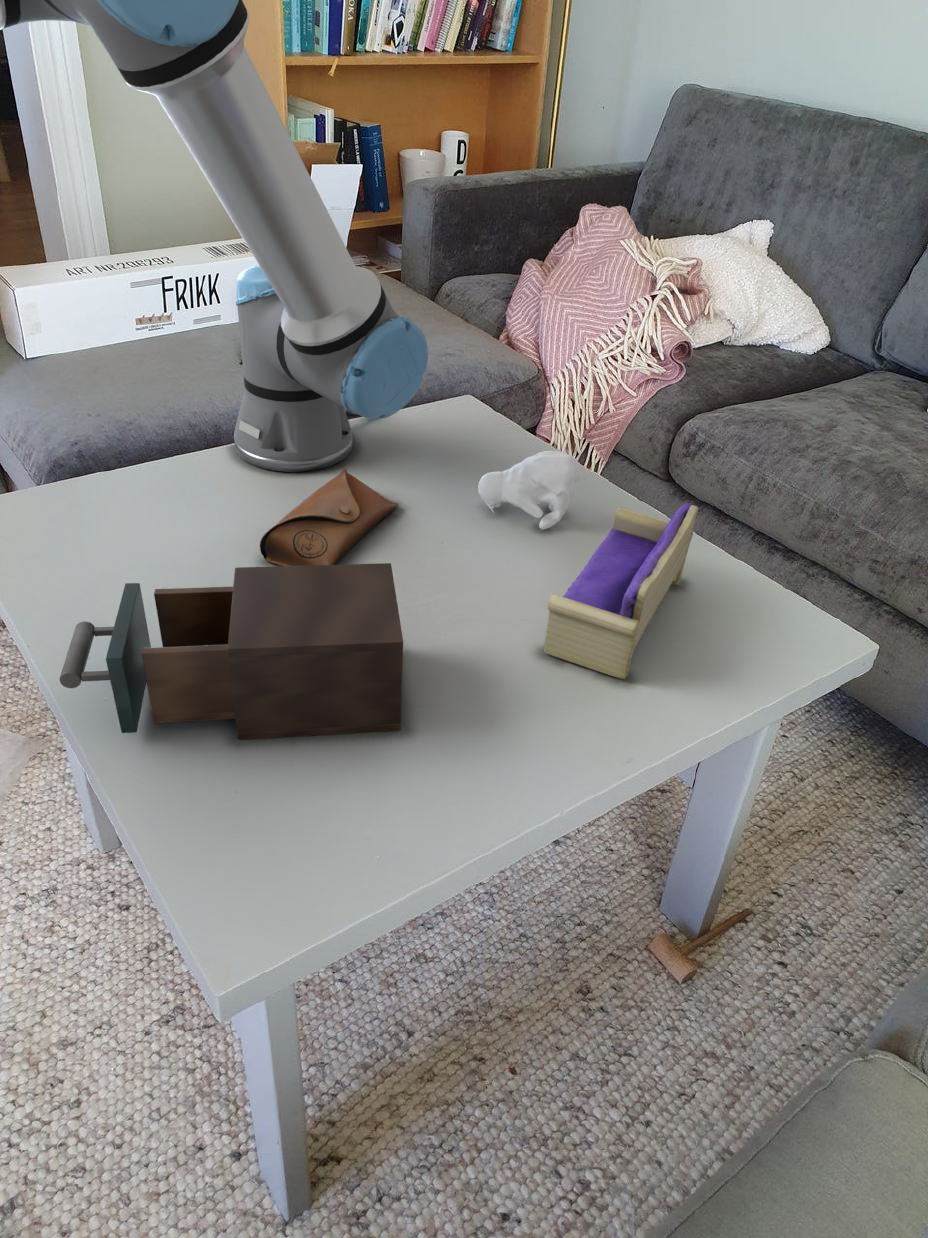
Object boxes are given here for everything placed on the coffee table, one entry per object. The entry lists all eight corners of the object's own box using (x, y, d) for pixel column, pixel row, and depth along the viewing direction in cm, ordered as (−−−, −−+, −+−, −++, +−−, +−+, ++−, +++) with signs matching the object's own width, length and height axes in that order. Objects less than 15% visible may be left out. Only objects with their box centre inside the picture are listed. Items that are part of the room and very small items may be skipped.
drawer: (65, 736, 74) (46, 661, 69) (88, 656, 82) (72, 584, 78) (277, 725, 76) (271, 651, 72) (279, 648, 85) (274, 578, 80)
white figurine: (573, 468, 101) (469, 456, 104) (570, 535, 106) (471, 522, 109) (585, 445, 106) (486, 435, 109) (581, 511, 111) (487, 499, 114)
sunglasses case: (329, 576, 95) (298, 521, 93) (281, 590, 99) (250, 537, 97) (402, 503, 109) (377, 452, 107) (357, 517, 113) (332, 469, 111)
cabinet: (237, 740, 76) (227, 649, 70) (243, 653, 85) (234, 567, 80) (400, 730, 78) (403, 642, 73) (389, 647, 87) (391, 562, 82)
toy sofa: (608, 557, 103) (623, 476, 97) (683, 579, 100) (703, 497, 94) (537, 657, 88) (550, 567, 82) (624, 687, 85) (643, 596, 79)
